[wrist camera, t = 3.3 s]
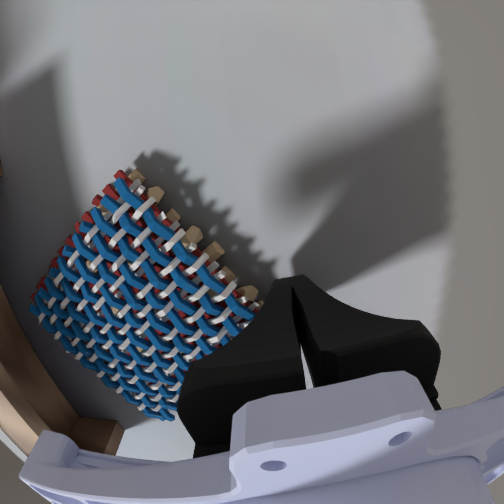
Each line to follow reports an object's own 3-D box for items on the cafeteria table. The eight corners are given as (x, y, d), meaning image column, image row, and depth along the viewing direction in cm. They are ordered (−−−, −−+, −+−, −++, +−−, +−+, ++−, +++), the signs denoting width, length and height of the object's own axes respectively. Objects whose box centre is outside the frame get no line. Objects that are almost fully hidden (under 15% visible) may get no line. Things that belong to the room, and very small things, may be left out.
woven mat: (138, 153, 11) (117, 155, 9) (300, 324, 14) (305, 350, 12) (36, 291, 14) (16, 308, 12) (164, 406, 16) (157, 430, 14)
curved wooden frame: (124, 430, 17) (101, 494, 12) (77, 424, 18) (51, 478, 12) (-1, 154, 11) (-86, 176, 5) (-39, 184, 11) (-106, 210, 5)
